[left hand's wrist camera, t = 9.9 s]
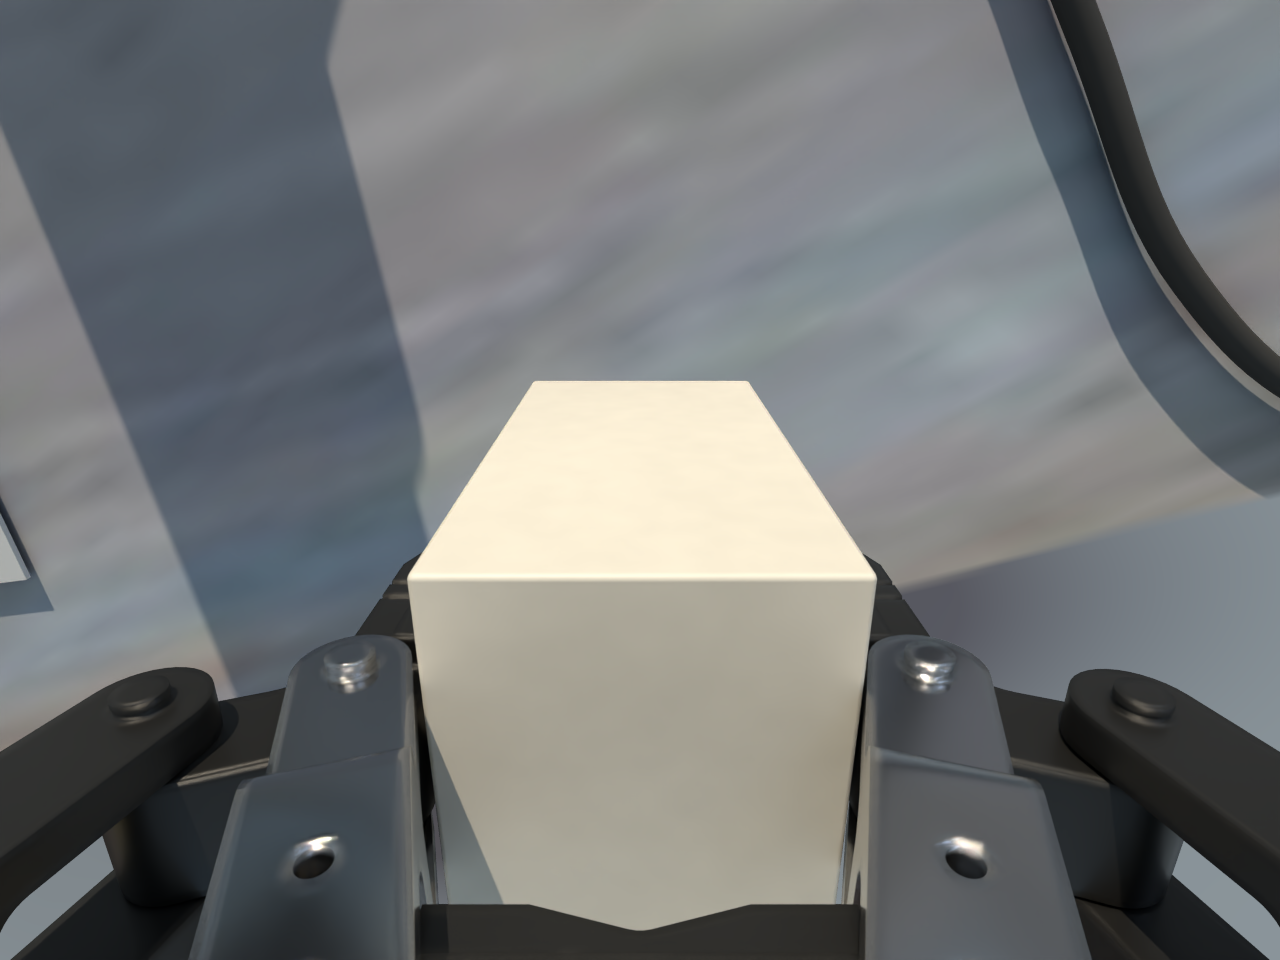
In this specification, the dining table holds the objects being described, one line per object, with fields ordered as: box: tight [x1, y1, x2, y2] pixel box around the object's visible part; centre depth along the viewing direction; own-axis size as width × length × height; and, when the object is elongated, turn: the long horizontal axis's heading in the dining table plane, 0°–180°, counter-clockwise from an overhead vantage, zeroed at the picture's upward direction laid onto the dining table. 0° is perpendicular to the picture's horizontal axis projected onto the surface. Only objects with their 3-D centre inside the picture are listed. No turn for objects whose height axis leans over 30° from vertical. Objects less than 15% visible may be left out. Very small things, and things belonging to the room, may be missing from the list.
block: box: [407, 381, 877, 930], centre depth 12 cm, size 4×5×9 cm
